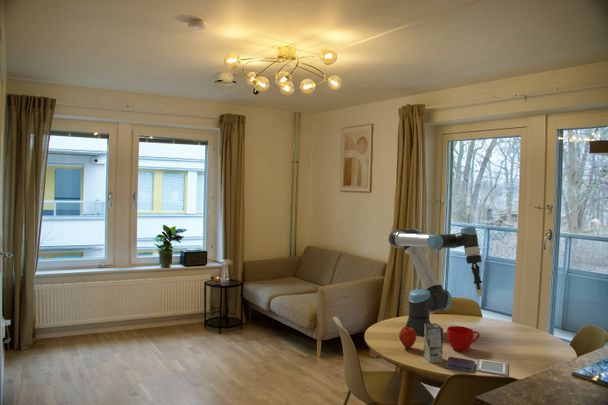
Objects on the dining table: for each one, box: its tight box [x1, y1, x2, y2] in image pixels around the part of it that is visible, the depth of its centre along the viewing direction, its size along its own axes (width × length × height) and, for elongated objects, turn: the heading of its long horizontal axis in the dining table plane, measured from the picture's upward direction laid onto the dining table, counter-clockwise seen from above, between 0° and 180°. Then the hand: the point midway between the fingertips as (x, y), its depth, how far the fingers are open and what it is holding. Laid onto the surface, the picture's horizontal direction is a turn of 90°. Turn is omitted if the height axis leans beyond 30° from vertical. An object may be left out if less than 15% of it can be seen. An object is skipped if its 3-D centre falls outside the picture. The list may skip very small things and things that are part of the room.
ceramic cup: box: [446, 325, 480, 352], centre depth 242 cm, size 13×17×10 cm
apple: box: [398, 326, 417, 349], centre depth 241 cm, size 9×8×11 cm
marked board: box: [475, 358, 509, 377], centre depth 217 cm, size 13×15×1 cm
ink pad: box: [445, 356, 476, 373], centre depth 219 cm, size 12×12×2 cm
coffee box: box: [423, 322, 444, 363], centre depth 227 cm, size 9×6×16 cm
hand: (480, 296), depth 248 cm, fingers open, 13 cm apart
